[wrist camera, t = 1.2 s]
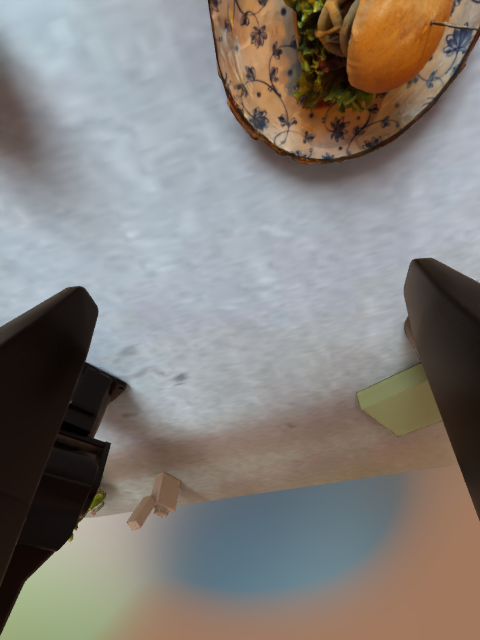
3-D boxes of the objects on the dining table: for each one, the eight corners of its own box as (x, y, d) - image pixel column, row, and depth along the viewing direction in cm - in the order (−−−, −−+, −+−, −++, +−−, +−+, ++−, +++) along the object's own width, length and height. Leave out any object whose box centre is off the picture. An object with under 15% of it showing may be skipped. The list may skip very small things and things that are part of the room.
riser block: (391, 420, 35) (398, 436, 34) (356, 392, 32) (361, 409, 31) (458, 394, 32) (468, 411, 30) (425, 360, 28) (435, 377, 27)
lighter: (181, 481, 49) (170, 540, 43) (173, 483, 50) (161, 541, 44) (149, 464, 46) (133, 526, 40) (141, 467, 46) (124, 528, 40)
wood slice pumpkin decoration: (373, -414, 8) (621, -1423, 3) (540, -18, 13) (764, -80, 7) (161, 45, 15) (102, 35, 9) (324, 201, 19) (352, 260, 14)
